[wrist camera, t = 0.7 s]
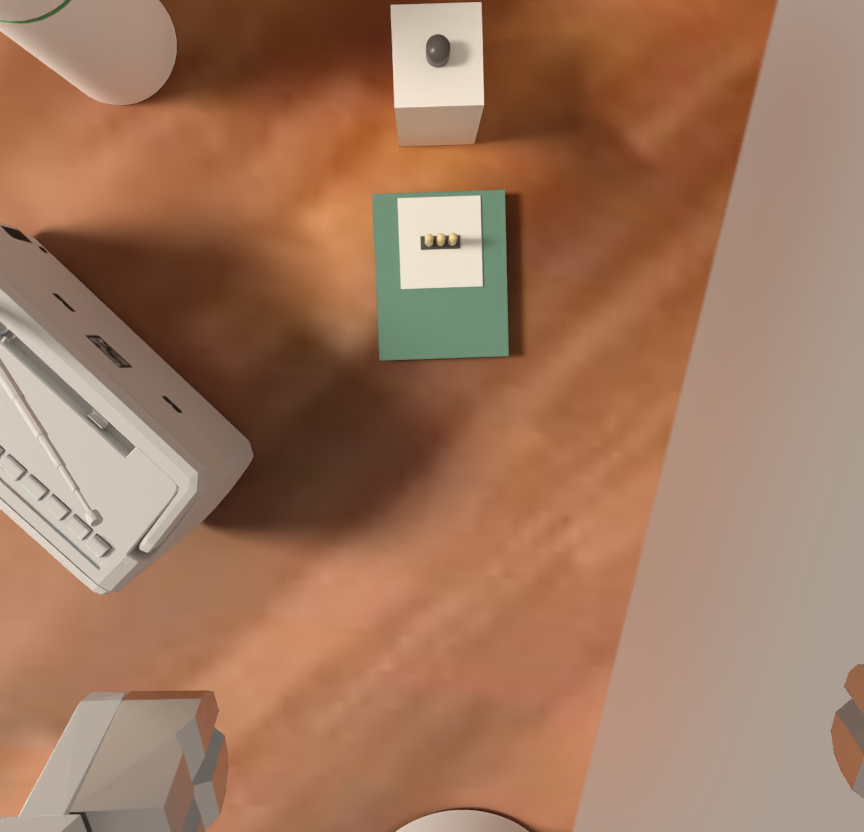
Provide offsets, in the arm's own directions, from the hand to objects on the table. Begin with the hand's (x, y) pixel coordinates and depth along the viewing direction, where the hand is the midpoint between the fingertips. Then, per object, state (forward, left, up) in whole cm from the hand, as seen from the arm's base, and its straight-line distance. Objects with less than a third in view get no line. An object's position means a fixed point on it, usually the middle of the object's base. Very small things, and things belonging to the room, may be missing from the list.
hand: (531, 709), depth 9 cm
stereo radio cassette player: (+3, +21, -36) cm, 42 cm away
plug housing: (+19, 0, -35) cm, 40 cm away
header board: (+9, 0, -35) cm, 37 cm away
